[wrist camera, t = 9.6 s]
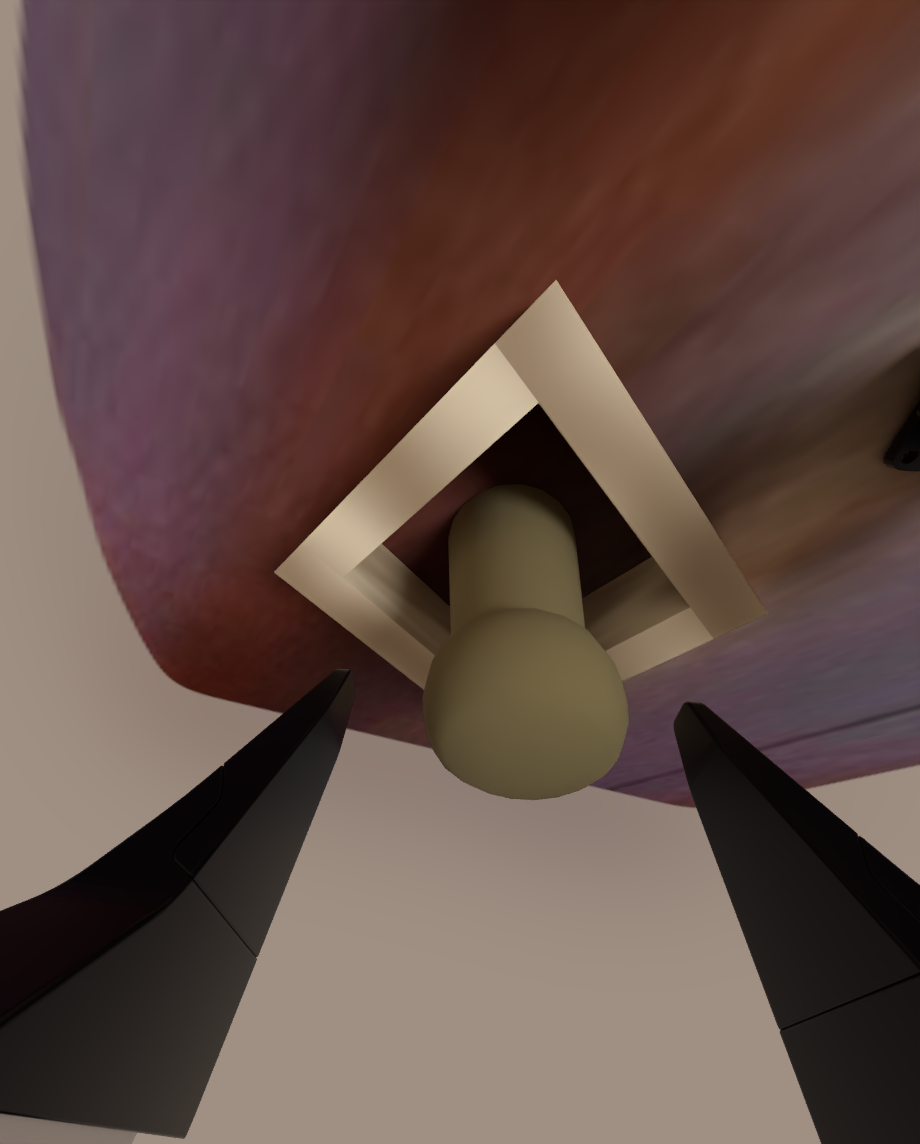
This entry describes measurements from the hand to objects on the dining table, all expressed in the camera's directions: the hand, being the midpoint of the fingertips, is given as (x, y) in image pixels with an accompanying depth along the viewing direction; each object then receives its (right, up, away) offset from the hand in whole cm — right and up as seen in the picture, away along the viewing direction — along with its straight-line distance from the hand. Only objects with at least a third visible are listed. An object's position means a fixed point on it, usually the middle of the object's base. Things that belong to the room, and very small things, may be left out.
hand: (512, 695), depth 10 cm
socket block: (+1, +5, +8) cm, 9 cm away
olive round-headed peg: (+1, +5, +8) cm, 9 cm away
